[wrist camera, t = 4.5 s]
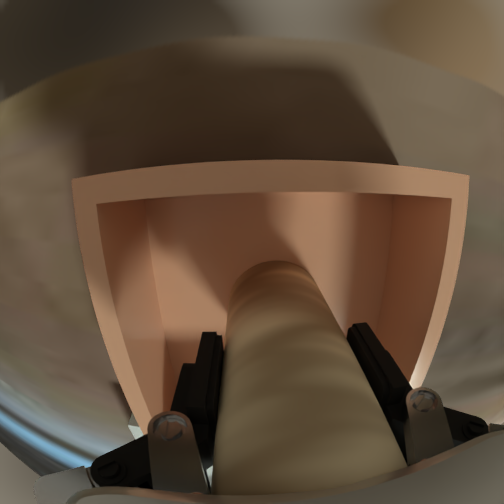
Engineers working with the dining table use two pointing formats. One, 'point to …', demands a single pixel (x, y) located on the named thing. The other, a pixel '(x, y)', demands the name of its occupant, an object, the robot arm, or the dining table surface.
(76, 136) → the dining table surface
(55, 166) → the dining table surface
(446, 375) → the dining table surface
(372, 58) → the dining table surface
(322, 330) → the maple peg
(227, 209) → the peach square hollow box
